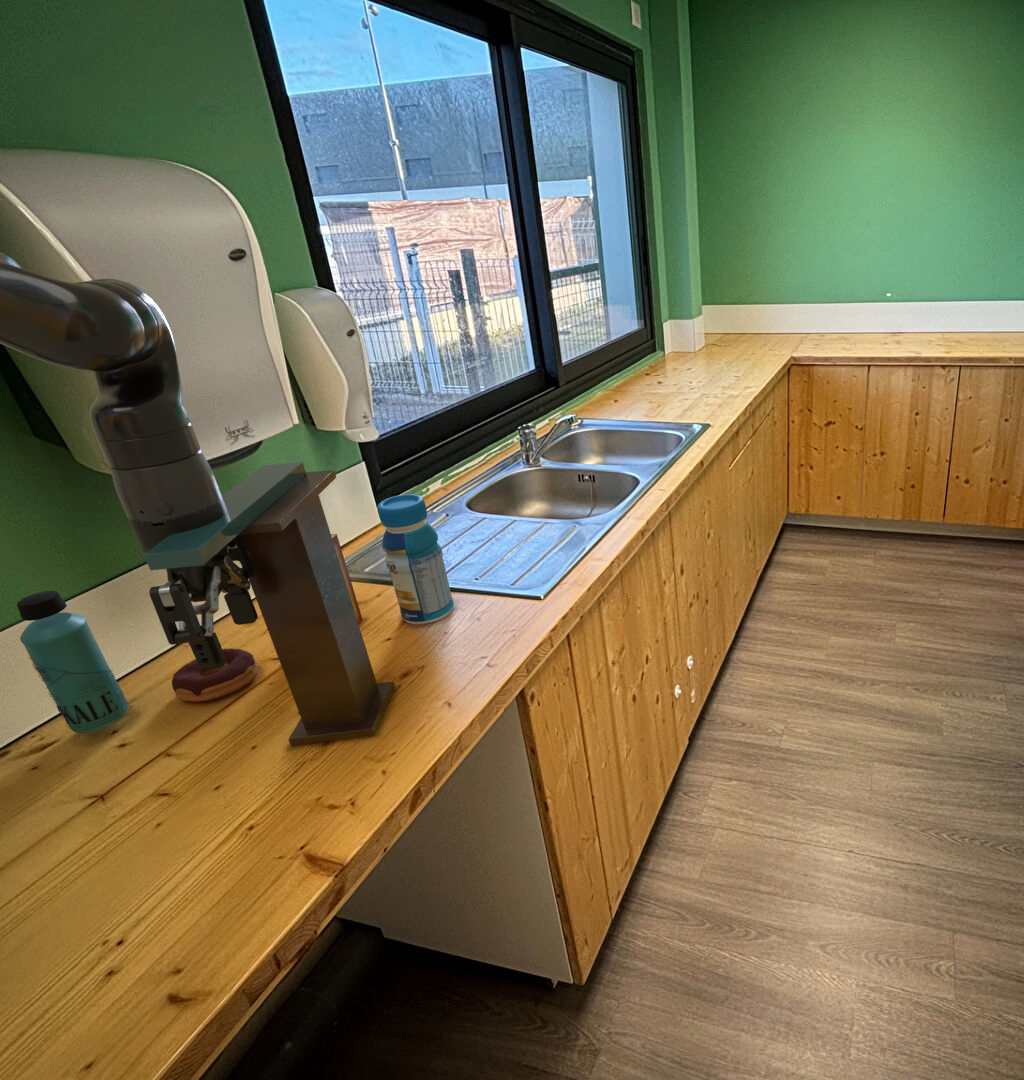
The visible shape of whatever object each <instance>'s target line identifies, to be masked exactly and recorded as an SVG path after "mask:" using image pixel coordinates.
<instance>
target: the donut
mask: <svg viewBox="0 0 1024 1080" xmlns="http://www.w3.org/2000/svg"><path fill="white" fill-rule="evenodd" d="M222 650H223V652H224V655H225V657H226V660H227V661H226V663H225V664H224V665H223V667H221V668H214V669H207V670H204V669H201V668H200V667H199V665H198V663H197V661H196V659H193V660H191V661H189V662H187V663H185V664H184V665H183V666H182V667H180V668H179V669H178V670H177V671H176V672H175V673H173V676H172V679H171V686H172V690H173V691H174V694H175V697H176V698H177V699H179V700H181V701H185V702H193V703H194V702H197V703H198V702H208V701H212V700H216V699H219V698H222V697H225V696H228V695H230V694H232V693H235V692H236V691H238V690H241V689H242V688H244V687H245V686H246V685H248V684H250V683H251V682H252V681H253V680H254V679H255V678H256V677H257V676H258V674H259V671H260V666H259V663H258V662H257V661H256V659H255V657H254V655H253V653H251V652H249V651H247V650H244V649H242V648H241V649H240V648H222Z"/></svg>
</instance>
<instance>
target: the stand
mask: <svg viewBox="0 0 1024 1080" xmlns="http://www.w3.org/2000/svg"><path fill="white" fill-rule="evenodd" d="M247 477H248V476H246V477H245V478H244V479H242V480H241V481H239V482H238V483H237V484H235V485H234V486H233V487H231V488H230V489H228V490H227V491H226V492H225V493H223V494H221V495H222V496H223V495H224V494H226V493H227V492H228V491H230V490H231V489H232V488H234V487H235V486H236V485H238V484H239V483H241V482H242V481H243V480H245V479H246V478H247ZM336 478H337V475H336V471H335V470H334V469H329V470H317V471H306V475H305V476H304V477H303V478H302V479H301V480H300V481H299V482H297V483H296V484H295V485H294V486H293V487H292V488H291V489H289V490H288V491H287V492H286V493H285V494H284V495H283V496H281V497H280V498H279V499H278V500H277V501H276V502H275V503H274V504H272V505H271V506H270V507H269V508H268V509H267V510H266V511H264V512H263V513H262V514H261V515H260V516H259V517H258V518H256V519H255V520H254V521H253V522H252V523H251V524H250V525H249V526H247V527H246V528H245V529H244V530H243V531H242V532H241V533H239V534H238V535H240V536H241V539H242V541H243V544H244V546H245V549H246V551H247V554H248V556H249V559H250V561H251V564H252V566H253V568H254V572H255V574H254V577H251V578H249V579H248V580H249V582H250V588H251V589H252V593H253V594H254V597H255V600H256V603H257V605H258V607H259V611H260V613H261V616H262V618H263V621H264V624H265V626H266V629H267V631H268V634H269V637H270V639H271V642H272V646H273V648H274V650H275V653H276V655H277V658H278V661H279V663H280V666H281V670H282V671H283V674H284V676H285V679H286V681H287V685H288V687H289V690H290V692H291V695H292V698H293V700H294V703H295V706H296V709H297V711H298V714H299V717H300V719H299V720H298V722H297V724H296V726H295V727H294V729H293V730H292V732H291V734H290V735H289V737H288V739H287V740H288V742H289V745H290V747H298V746H304V745H312V744H320V743H329V742H336V741H345V740H353V739H361V738H367V737H375V734H376V733H377V730H378V728H379V726H380V723H381V721H382V719H383V716H384V714H385V713H386V710H387V707H388V705H389V704H390V701H391V698H392V696H393V694H394V691H395V690H396V686H395V684H394V681H385V682H378V683H377V679H376V676H375V673H374V670H373V666H372V663H371V660H370V657H369V653H368V650H367V647H366V644H365V640H364V638H363V634H362V630H361V628H360V624H358V621H357V617H356V614H355V611H354V608H353V604H352V601H351V598H350V595H349V592H348V588H347V585H346V582H345V579H344V575H343V572H342V569H341V566H340V562H339V559H338V556H337V553H336V550H335V546H334V543H333V540H332V537H331V534H332V533H331V531H330V527H329V524H328V521H327V520H328V519H327V517H326V514H325V511H324V508H323V505H322V501H321V497H320V494H321V493H322V492H324V490H326V488H327V487H328V486H330V485H331V484H332V483H333V482H334V480H336Z"/></svg>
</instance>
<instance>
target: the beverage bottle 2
mask: <svg viewBox="0 0 1024 1080" xmlns="http://www.w3.org/2000/svg"><path fill="white" fill-rule="evenodd" d="M377 513H378V517H379V521H380V524H381V525H382V526H383V528H385V531H384V533H383V537H382V543H381V546H382V550H383V551H384V552H385V554H386V555H385V560H384V561H385V565H386V567H387V570H388V572H389V575H390V578H391V582H392V585H393V586H392V587H393V589H394V592H395V595H396V599H397V603H398V606H399V607H398V608H399V612H400V616H401V618H402V620H403V621H404V622H406V623H408V624H411V625H427V624H431V623H434V622H438V621H440V620H442V619H444V618H446V617H448V615H449V614H451V613H452V611H453V610H454V607H455V603H454V600H453V596H452V592H451V588H450V584H449V583H450V582H449V579H448V575H447V570H446V566H445V562H444V554H443V548H442V547H441V545H440V544H439V543H438V540H439V535H438V532H437V531H436V530H435V528H434V527H433V526H432V525H431V523H429V522H428V521H426V520H427V519H428V510H427V506H426V502H425V500H424V497H423V496H421V495H419V494H414V493H408V494H399V495H393V496H391V497H387V498H385V499H383V500H381V502H379V503H378V504H377Z"/></svg>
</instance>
